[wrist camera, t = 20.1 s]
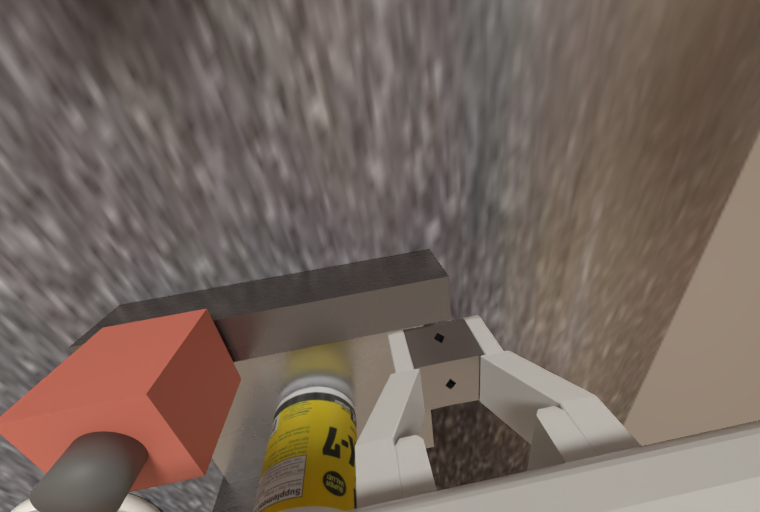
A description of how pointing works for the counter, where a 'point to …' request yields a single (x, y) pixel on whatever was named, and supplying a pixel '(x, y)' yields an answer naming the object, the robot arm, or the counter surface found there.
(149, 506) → the coaster
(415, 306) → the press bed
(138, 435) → the handle
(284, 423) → the supplement bottle
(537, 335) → the counter surface
